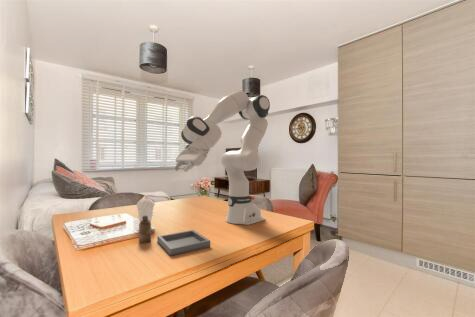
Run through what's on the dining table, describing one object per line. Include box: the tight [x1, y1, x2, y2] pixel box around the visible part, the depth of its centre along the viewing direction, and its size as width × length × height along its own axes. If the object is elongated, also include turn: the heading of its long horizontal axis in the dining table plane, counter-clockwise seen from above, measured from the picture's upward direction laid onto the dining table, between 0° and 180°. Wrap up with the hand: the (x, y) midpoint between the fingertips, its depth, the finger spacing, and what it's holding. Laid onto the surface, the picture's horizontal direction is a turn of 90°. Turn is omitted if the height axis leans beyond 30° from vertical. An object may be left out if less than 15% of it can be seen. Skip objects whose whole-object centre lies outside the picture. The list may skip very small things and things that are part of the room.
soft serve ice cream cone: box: [136, 194, 156, 223], centre depth 119 cm, size 8×8×16 cm
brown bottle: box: [138, 215, 152, 244], centre depth 99 cm, size 5×5×11 cm
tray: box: [156, 229, 211, 257], centre depth 96 cm, size 16×16×2 cm
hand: (179, 170), depth 110 cm, fingers open, 8 cm apart
